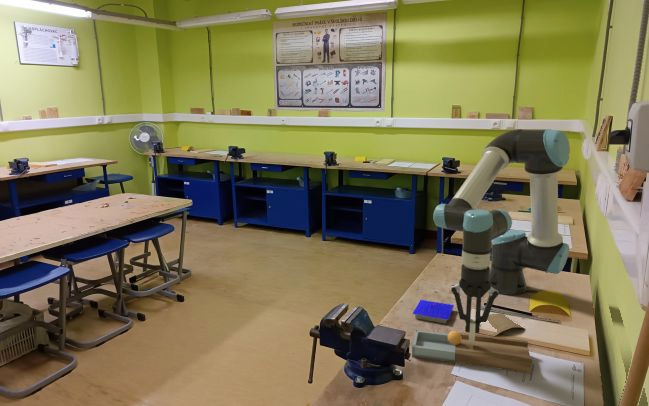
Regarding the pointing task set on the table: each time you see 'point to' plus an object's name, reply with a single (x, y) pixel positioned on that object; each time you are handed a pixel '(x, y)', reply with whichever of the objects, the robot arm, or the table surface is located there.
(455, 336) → the ball
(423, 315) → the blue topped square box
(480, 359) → the chute
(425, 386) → the table surface
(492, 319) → the brown curved sheet
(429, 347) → the tray
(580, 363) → the table surface
